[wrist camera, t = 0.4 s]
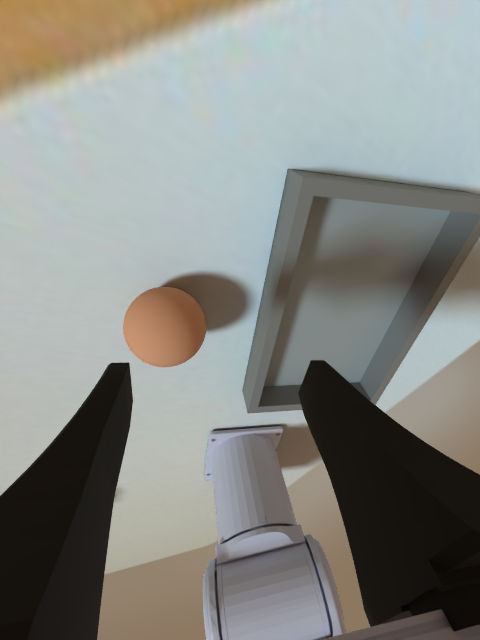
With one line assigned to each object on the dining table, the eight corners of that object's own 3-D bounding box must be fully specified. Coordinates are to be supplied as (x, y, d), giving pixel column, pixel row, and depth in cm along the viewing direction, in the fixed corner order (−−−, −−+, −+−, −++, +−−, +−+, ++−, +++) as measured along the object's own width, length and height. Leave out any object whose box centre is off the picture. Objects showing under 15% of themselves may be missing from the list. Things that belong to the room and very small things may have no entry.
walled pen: (361, 385, 29) (375, 405, 27) (242, 390, 27) (247, 413, 25) (466, 192, 19) (500, 201, 17) (287, 168, 16) (303, 177, 14)
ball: (201, 333, 22) (206, 382, 18) (132, 333, 21) (121, 386, 17) (205, 274, 19) (212, 317, 15) (125, 271, 18) (111, 316, 14)
